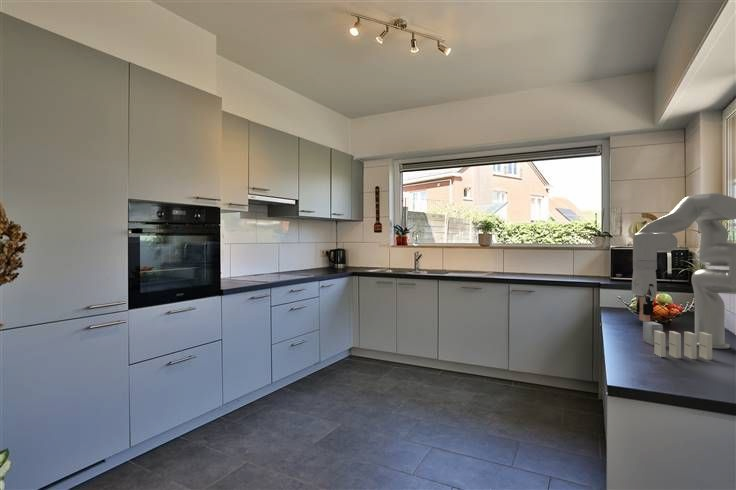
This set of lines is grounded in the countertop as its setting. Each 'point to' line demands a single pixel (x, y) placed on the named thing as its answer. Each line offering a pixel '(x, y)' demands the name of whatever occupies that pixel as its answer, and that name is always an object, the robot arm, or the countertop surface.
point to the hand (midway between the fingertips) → (644, 313)
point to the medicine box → (650, 331)
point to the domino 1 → (641, 316)
